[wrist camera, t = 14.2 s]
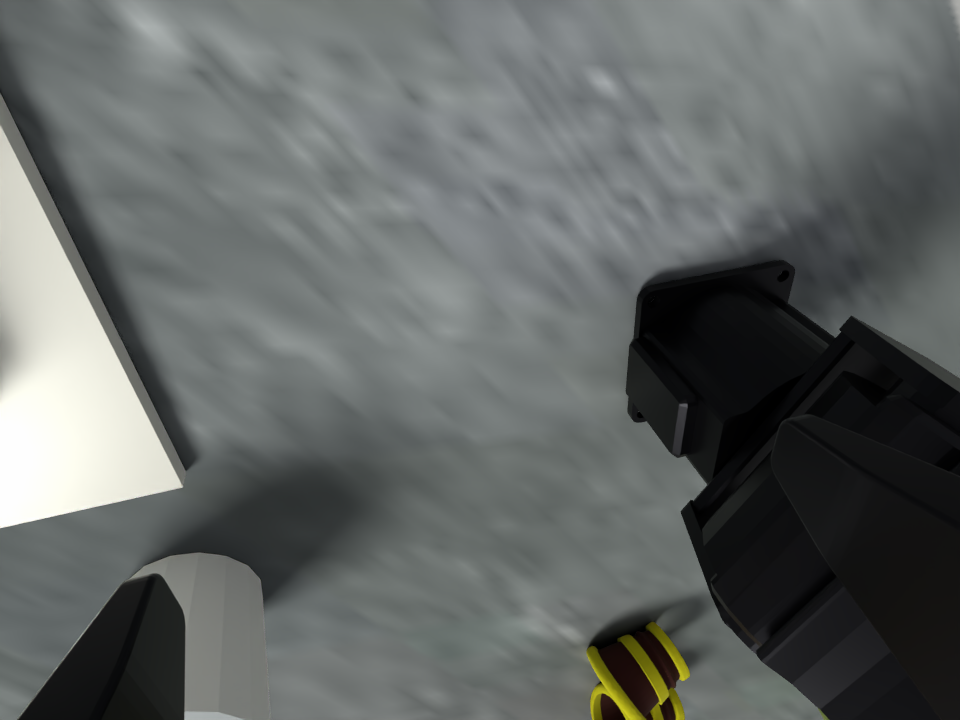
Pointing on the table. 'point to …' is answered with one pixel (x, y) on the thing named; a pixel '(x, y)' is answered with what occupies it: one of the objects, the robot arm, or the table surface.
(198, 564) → the white short cylinder
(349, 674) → the table surface
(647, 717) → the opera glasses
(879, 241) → the table surface
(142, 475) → the base plate
